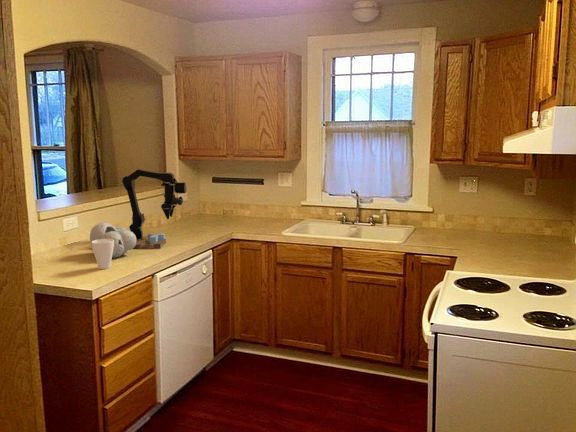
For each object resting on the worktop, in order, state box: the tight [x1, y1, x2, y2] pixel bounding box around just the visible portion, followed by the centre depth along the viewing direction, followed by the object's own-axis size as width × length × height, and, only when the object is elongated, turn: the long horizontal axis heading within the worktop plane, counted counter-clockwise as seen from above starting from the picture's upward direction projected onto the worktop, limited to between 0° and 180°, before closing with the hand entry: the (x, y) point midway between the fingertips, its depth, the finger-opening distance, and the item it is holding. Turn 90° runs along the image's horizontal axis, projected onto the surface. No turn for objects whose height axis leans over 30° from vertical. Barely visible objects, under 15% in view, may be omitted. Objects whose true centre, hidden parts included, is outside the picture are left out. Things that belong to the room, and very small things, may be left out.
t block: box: [146, 233, 166, 244], centre depth 319 cm, size 10×10×4 cm
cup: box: [90, 239, 114, 270], centre depth 259 cm, size 10×10×14 cm
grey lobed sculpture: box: [89, 221, 138, 259], centre depth 286 cm, size 20×25×22 cm
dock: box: [133, 238, 167, 250], centre depth 308 cm, size 15×15×2 cm
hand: (169, 217), depth 328 cm, fingers open, 9 cm apart
